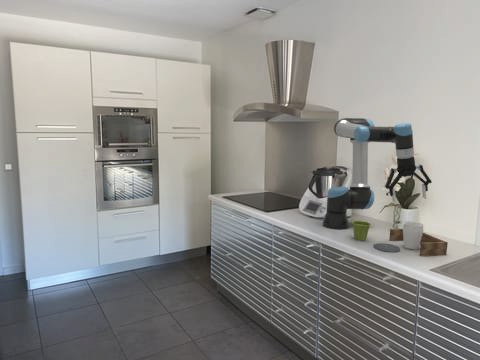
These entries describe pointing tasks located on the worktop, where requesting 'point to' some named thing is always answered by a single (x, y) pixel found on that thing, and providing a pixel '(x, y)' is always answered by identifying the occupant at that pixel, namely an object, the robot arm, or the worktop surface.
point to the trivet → (386, 247)
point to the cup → (412, 234)
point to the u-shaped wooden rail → (423, 243)
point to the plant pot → (360, 230)
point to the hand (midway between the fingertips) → (409, 199)
